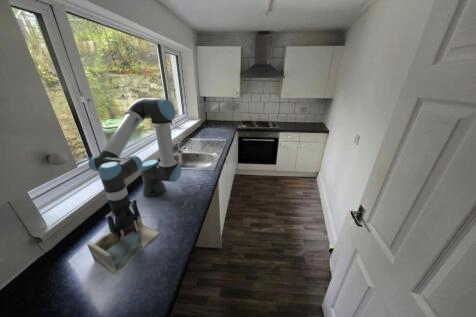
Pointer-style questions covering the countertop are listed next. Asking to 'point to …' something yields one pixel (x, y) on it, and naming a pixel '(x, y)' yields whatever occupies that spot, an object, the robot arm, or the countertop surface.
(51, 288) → the countertop surface
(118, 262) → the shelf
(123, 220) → the deodorant
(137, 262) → the countertop surface
